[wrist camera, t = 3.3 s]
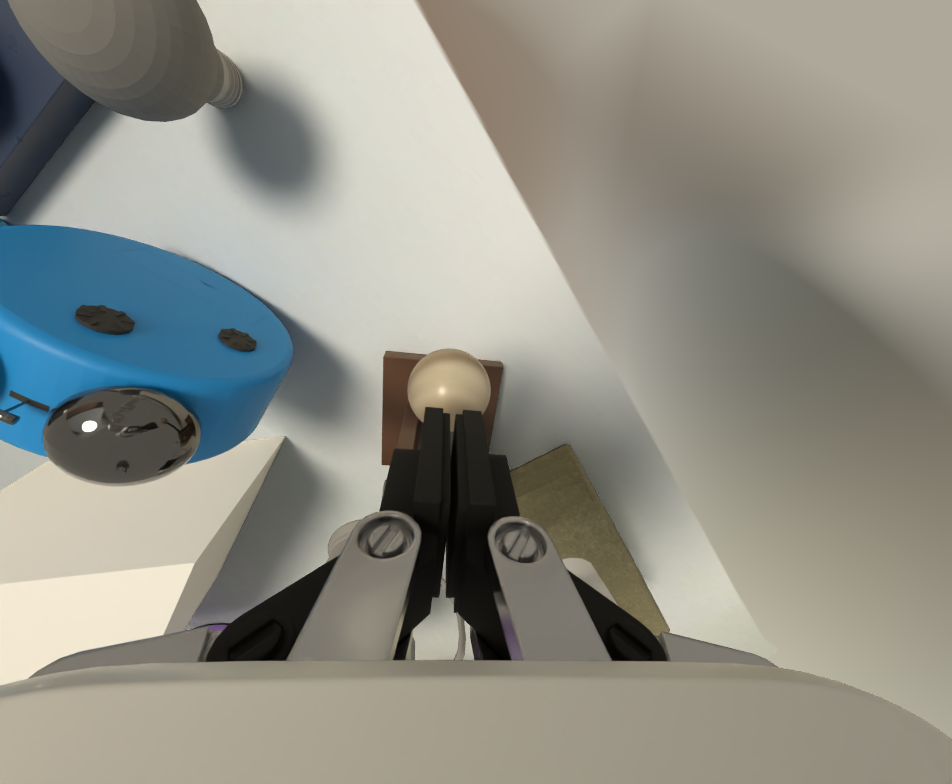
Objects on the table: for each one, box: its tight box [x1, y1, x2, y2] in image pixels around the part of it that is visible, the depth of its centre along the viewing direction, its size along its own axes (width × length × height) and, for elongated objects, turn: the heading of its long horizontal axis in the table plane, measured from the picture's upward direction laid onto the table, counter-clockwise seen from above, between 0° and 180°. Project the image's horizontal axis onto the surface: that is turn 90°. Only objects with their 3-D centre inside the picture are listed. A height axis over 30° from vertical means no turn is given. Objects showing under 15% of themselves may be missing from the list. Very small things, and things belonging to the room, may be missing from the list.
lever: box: [407, 349, 491, 454], centre depth 18 cm, size 13×3×3 cm, turn 173°
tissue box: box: [510, 444, 670, 636], centre depth 31 cm, size 19×10×16 cm, turn 30°
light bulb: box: [8, 0, 242, 122], centre depth 16 cm, size 6×6×10 cm
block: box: [0, 436, 285, 685], centre depth 29 cm, size 18×35×12 cm, turn 121°
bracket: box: [382, 351, 503, 498], centre depth 26 cm, size 10×9×12 cm
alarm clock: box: [0, 225, 293, 487], centre depth 19 cm, size 13×6×15 cm, turn 54°
